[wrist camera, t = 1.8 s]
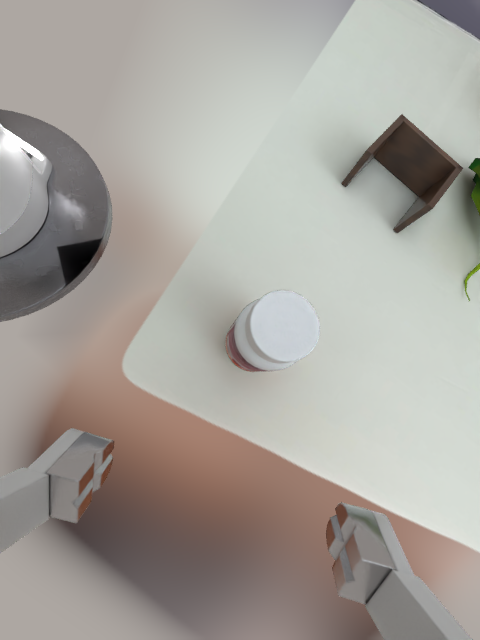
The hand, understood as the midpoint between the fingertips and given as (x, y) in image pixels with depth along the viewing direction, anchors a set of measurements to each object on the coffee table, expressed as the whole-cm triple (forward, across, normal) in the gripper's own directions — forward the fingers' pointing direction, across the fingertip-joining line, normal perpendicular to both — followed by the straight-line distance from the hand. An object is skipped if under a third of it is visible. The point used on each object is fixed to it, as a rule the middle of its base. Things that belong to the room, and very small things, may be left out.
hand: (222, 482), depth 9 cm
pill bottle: (+19, -1, +3) cm, 20 cm away
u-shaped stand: (+36, -15, -20) cm, 43 cm away
